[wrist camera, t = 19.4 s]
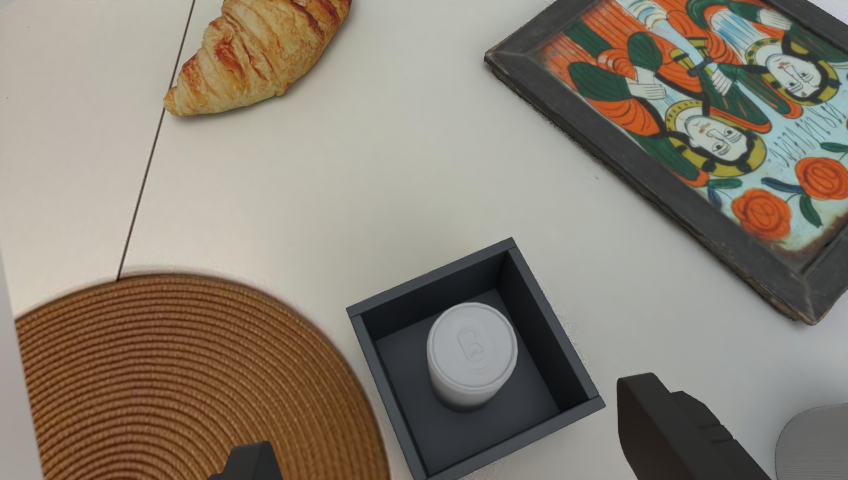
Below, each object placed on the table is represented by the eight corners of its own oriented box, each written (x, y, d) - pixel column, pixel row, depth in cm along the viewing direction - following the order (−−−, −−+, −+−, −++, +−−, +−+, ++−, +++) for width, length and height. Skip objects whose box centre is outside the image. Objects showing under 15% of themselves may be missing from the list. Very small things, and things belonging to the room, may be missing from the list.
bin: (571, 418, 38) (606, 406, 30) (425, 489, 36) (420, 497, 28) (498, 279, 42) (512, 236, 34) (364, 338, 40) (345, 307, 32)
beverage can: (447, 425, 37) (450, 409, 26) (419, 361, 39) (411, 321, 28) (508, 396, 38) (536, 368, 27) (478, 334, 40) (493, 285, 29)
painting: (655, -69, 57) (664, -92, 55) (980, 126, 47) (1008, 108, 44) (472, 72, 50) (474, 53, 47) (812, 343, 39) (835, 335, 37)
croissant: (210, 161, 51) (199, 145, 43) (134, 75, 49) (109, 43, 41) (376, 36, 56) (393, 2, 48) (312, -46, 54) (319, -95, 46)
